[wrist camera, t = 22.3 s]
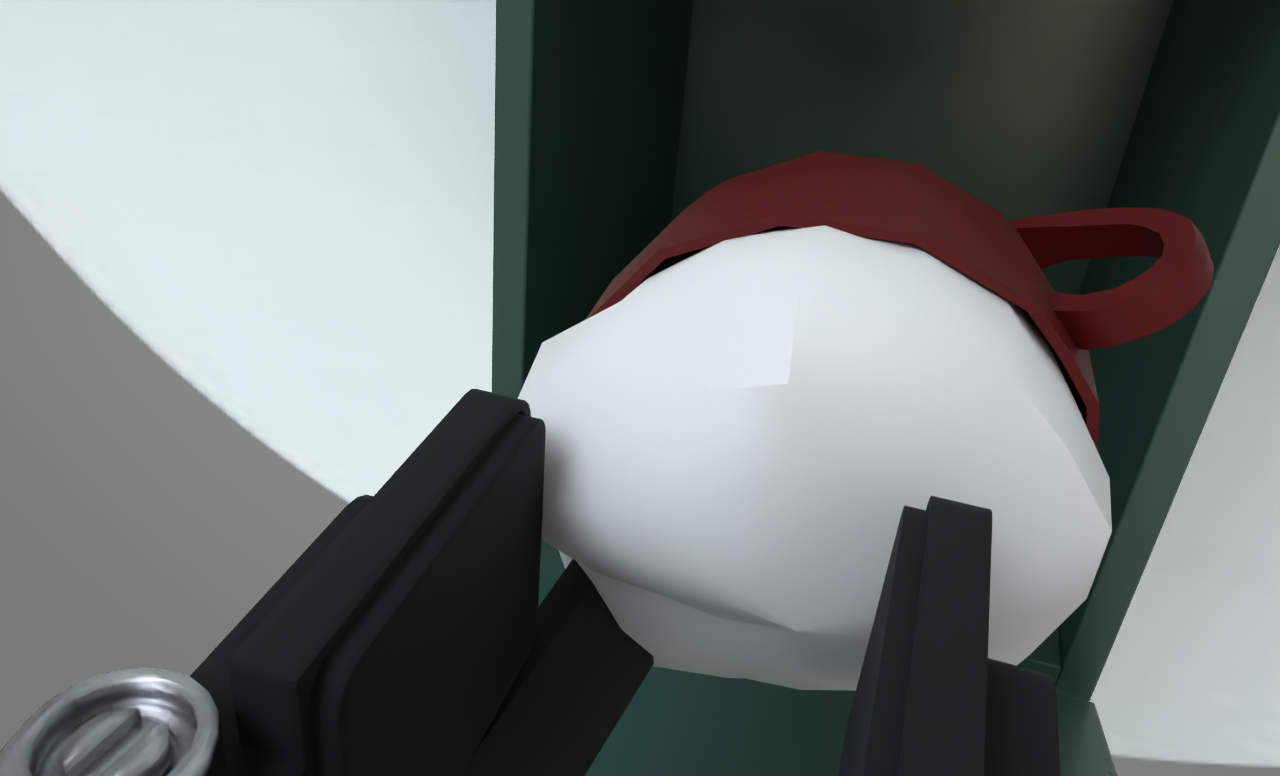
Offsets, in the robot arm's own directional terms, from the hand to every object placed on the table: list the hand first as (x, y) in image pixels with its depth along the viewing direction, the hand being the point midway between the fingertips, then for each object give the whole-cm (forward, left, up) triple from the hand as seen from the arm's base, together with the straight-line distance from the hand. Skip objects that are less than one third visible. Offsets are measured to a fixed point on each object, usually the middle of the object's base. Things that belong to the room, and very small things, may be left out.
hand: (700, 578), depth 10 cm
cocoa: (0, 0, -7) cm, 7 cm away
